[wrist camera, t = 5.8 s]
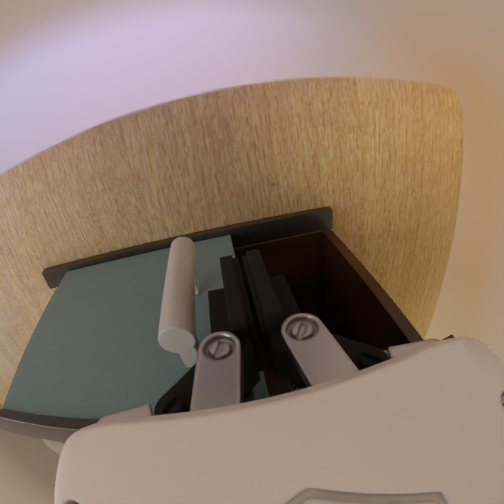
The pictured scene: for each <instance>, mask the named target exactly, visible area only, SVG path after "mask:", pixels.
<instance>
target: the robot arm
mask: <svg viewBox="0 0 504 504" xmlns="http://www.w3.org/2000/svg"><path fill="white" fill-rule="evenodd" d="M242 261H243V266H244V271H245V276H246V281H247V286H248V291H249V296H250V301H251V306H252V310H253V314H254V318H255V321H256V325H257V329H258V333H259V337H260V340H261V344H262V348H263V352H264V356H265V359H266V363H267V367H268V370H269V369H274V372H275V376H276V375H277V376H279V377H281V378H283V379H286V380H287V384H288V386H289V388H290V390H291V392H289V393H285V394H281V395H277V396H273V397H268V398H264V399H260V400H255V393H254V387H255V386H256V385H257V383H258V382H259V381H260V375H259V372H260V371H264V368H263V363H262V359H261V354H260V349H259V345H258V340H257V335H256V331H255V326H254V321H253V317H252V313H251V309H250V305H249V301H248V297H247V293H246V289H245V285H244V281H243V277H242V273H241V269H240V265H239V261H238V257H236V258H233V257H232V255H229V256H225V257H220V265H221V273H222V280H223V287H224V288H220V289H215V290H211V291H208V302H209V316H210V328H211V334H210V335H208V336H207V337H205V338H204V339H203V340H202V342H201V343H200V345H199V348H198V354H197V361H196V364H195V365H194V366H193V367H192V368H191V369H190V370H189V371H188V372H187V373H186V374H185V375H183V376H182V377H181V378H180V379H179V380H178V381H177V382H176V383H175V384H174V385H173V386H172V387H171V388H170V389H169V390H168V391H167V392H166V393H165V394H164V395H163V396H162V397H161V398H160V399H159V400H158V402H157V403H156V404H155V405H152V406H151V405H150V404H146V405H142V406H139V407H135V408H132V409H128V410H125V411H121V412H117V413H113V414H109V415H106V416H104V417H102V418H101V419H100V420H99V421H98V422H97V423H95V424H92V425H89V426H87V427H84V428H82V429H80V430H78V431H76V432H75V433H73V434H72V435H71V436H70V437H69V438H68V439H67V441H66V442H65V444H64V446H63V449H62V451H61V455H60V459H59V463H58V469H57V475H56V484H55V497H54V504H504V363H503V362H502V361H501V359H500V358H499V357H498V356H497V355H496V354H495V353H494V352H493V351H492V350H491V349H490V348H489V347H488V346H487V345H486V344H484V343H482V342H481V341H479V340H478V339H474V338H468V337H459V338H449V339H444V340H437V339H428V340H423V341H418V342H413V343H408V344H403V345H397V346H392V347H388V350H384V351H383V350H382V349H380V348H377V347H374V346H371V345H368V344H364V343H361V342H358V341H354V340H351V339H348V338H345V337H341V336H338V335H335V334H332V333H330V332H329V330H328V329H327V328H326V327H325V325H324V324H323V323H322V321H321V320H320V319H319V318H318V317H316V316H314V315H312V314H307V313H301V312H300V310H299V307H298V305H297V303H296V301H295V299H294V296H293V294H292V292H291V290H290V288H289V286H288V283H287V281H286V279H285V277H284V275H279V276H274V277H270V278H269V275H268V273H267V270H266V268H265V265H264V262H263V260H262V257H261V255H260V252H259V250H258V249H257V250H252V251H248V252H246V255H245V256H242Z"/></svg>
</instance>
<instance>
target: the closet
mask: <svg viewBox="0 0 504 504" xmlns="http://www.w3.org/2000/svg"><path fill="white" fill-rule="evenodd" d="M330 229H332V209H331V208H330V207H329V206H328V207H322V208H317V209H311V210H306V211H300V212H295V213H290V214H284V215H279V216H274V217H269V218H264V219H258V220H253V221H248V222H243V223H238V224H234V225H229V226H224V227H219V228H214V229H210V230H205V231H200V232H196V233H191V234H186V235H182V236H177V237H173V238H168V239H164V240H159V241H155V242H151V243H146V244H142V245H138V246H134V247H129V248H125V249H121V250H117V251H113V252H109V253H105V254H101V255H97V256H93V257H89V258H85V259H81V260H77V261H73V262H69V263H65V264H61V265H58V266H54V267H50V268H46V269H44V271H43V272H42V274H43V276H44V278H45V280H46V282H47V284H48V286H49V287H50V289H51V288H55V287H58V286H59V284H60V282H61V281H62V279H63V277H64V276H65V274H66V272H67V271H71V270H75V269H80V268H84V267H88V266H92V265H96V264H100V263H105V262H109V261H113V260H117V259H122V258H126V257H130V256H135V255H139V254H144V253H148V252H153V251H157V250H162V249H166V248H170V247H171V243H172V242H173V241H174V240H175V239H176V238H179V237H187V238H189V239H191V240H192V241H193V242H198V241H203V240H208V239H212V238H217V237H222V236H227V235H230V236H231V240H232V245H233V249H234V253H235V258H236V257H238V261H239V265H240V269H241V273H242V277H243V281H244V285H245V289H246V293H247V297H248V301H249V305H250V309H251V313H252V317H253V321H254V326H255V331H256V335H257V340H258V345H259V349H260V354H261V359H262V363H263V368H264V371H263V373H264V377H265V381H266V385H267V389H268V393H269V397H273V396H277V395H281V394H285V393H289V392H291V390H290V388H289V386H288V384H287V380H286V379H283V378H281V377H279V376H277V375H276V376H275V372H274V369H269V370H268V367H267V363H266V359H265V356H264V352H263V348H262V344H261V340H260V337H259V333H258V329H257V325H256V321H255V318H254V314H253V310H252V306H251V301H250V296H249V291H248V286H247V281H246V276H245V271H244V266H243V261H242V256H245V255H246V252H248V251H252V250H257V249H258V250H259V252H260V255H261V257H262V260H263V262H264V265H265V268H266V270H267V273H268V275H269V278H270V277H274V276H279V275H284V277H285V279H286V281H287V283H288V286H289V288H290V290H291V292H292V294H293V296H294V299H295V301H296V303H297V305H298V307H299V310H300V312H301V313H307V314H312V315H314V316H316V317H318V318H319V319H320V320H321V321H322V323H323V324H324V325H325V327H326V328H327V329H328V330H329V332H330V333H332V334H335V335H338V336H341V337H345V338H348V339H351V340H354V341H358V342H361V343H364V344H368V345H371V346H374V347H377V348H380V349H382V350H383V351H384V350H388V347H392V346H397V345H403V344H408V343H413V342H418V341H423V339H422V337H421V336H420V335H419V333H418V332H417V331H416V329H415V328H414V327H413V325H412V324H411V323H410V322H409V320H408V319H407V318H406V316H405V315H404V314H403V313H402V311H401V310H400V309H399V308H398V306H397V305H396V304H395V303H394V301H393V300H392V299H391V298H390V297H389V295H388V294H387V293H386V292H385V291H384V289H383V288H382V287H381V286H380V285H379V283H378V282H377V281H376V280H375V279H374V277H373V276H372V275H371V274H370V273H369V272H368V270H367V269H366V268H365V267H364V266H363V265H362V264H361V262H360V261H359V260H358V259H357V258H356V257H355V256H354V254H353V253H352V252H351V251H350V250H349V249H348V248H347V247H346V246H345V244H344V243H343V242H342V241H341V240H340V239H339V238H338V237H337V236H336V235H335V234H334V232H333V231H332V230H330ZM449 338H455V337H454V336H453V335H450V336H449V337H446V338H444V339H449ZM444 339H442V340H444ZM98 421H99V420H84V419H68V418H57V417H47V416H39V415H32V414H25V413H19V412H13V411H8V410H3V409H0V429H3V430H6V431H10V432H14V433H18V434H22V435H26V436H31V437H36V438H41V439H46V440H51V441H57V442H64V443H65V442H66V441H67V439H68V438H69V437H70V436H71V435H72V434H73V433H75V432H76V431H78V430H80V429H82V428H84V427H87V426H89V425H92V424H95V423H97V422H98Z"/></svg>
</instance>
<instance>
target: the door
mask: <svg viewBox="0 0 504 504" xmlns="http://www.w3.org/2000/svg"><path fill="white" fill-rule="evenodd" d="M229 255H232V257H233V258H235V253H234V249H233V245H232V240H231V236H230V235H227V236H222V237H217V238H212V239H208V240H203V241H198V242H193V241H192V240H191V239H189V238H187V237H179V238H176V239H175V240H174V241H173V242H172V243H171V247H170V248H166V249H162V250H157V251H153V252H148V253H144V254H139V255H135V256H130V257H126V258H122V259H117V260H113V261H109V262H105V263H100V264H96V265H92V266H88V267H84V268H80V269H75V270H71V271H67V272H66V274H65V276H64V277H63V279H62V281H61V282H60V284H59V286H58V287H57V289H56V291H55V293H54V294H53V296H52V298H51V300H50V301H49V303H48V305H47V307H46V309H45V311H44V313H43V314H42V316H41V318H40V320H39V322H38V324H37V326H36V328H35V330H34V332H33V334H32V336H31V338H30V340H29V343H28V345H27V347H26V349H25V351H24V354H23V356H22V358H21V361H20V363H19V365H18V368H17V370H16V373H15V375H14V378H13V380H12V383H11V386H10V388H9V391H8V394H7V397H6V400H5V403H4V406H3V410H8V411H13V412H19V413H25V414H32V415H39V416H47V417H57V418H68V419H84V420H100V419H101V418H102V417H104V416H106V415H109V414H113V413H117V412H121V411H125V410H128V409H132V408H135V407H139V406H142V405H146V404H150V405H151V406H152V405H155V404H156V403H157V402H158V400H159V399H160V398H161V397H162V396H163V395H164V394H165V393H166V392H167V391H168V390H169V389H170V388H171V387H172V386H173V385H174V384H175V383H176V382H177V381H178V380H179V379H180V378H181V377H182V376H183V375H185V374H186V373H187V372H188V371H189V370H190V369H191V368H192V367H193V366H194V365H195V364H196V361H197V354H198V348H199V345H200V343H201V342H202V340H203V339H204V338H205V337H207V336H208V335H210V334H211V328H210V316H209V302H208V291H211V290H215V289H220V288H224V287H223V280H222V273H221V265H220V257H225V256H229ZM259 375H260V381H259V382H258V383H257V385H256V386H255V387H254V393H255V400H260V399H264V398H268V397H269V393H268V389H267V385H266V381H265V377H264V373H263V371H260V372H259Z"/></svg>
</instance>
